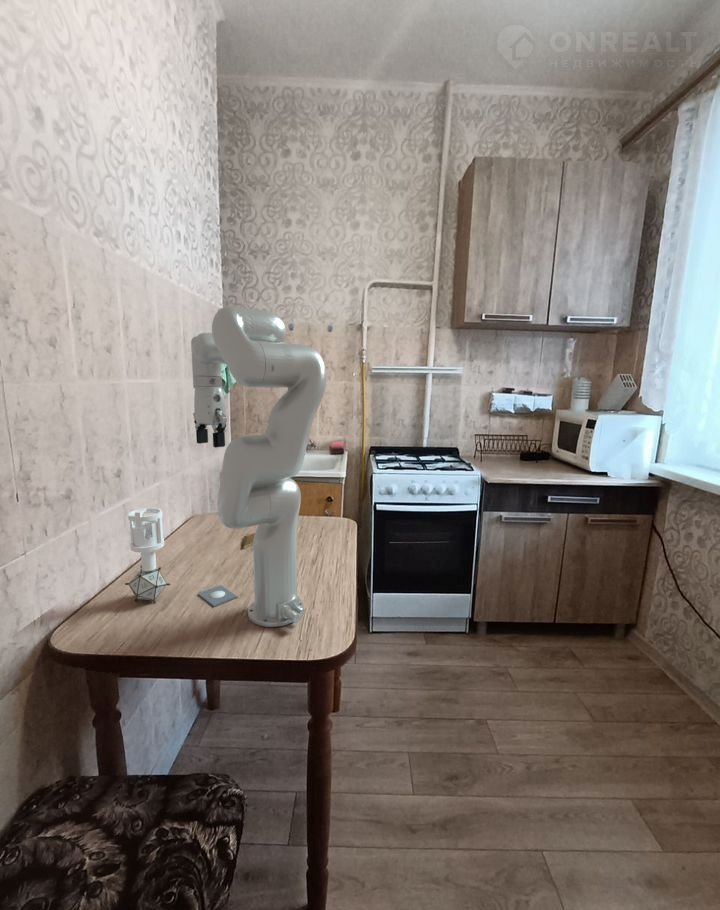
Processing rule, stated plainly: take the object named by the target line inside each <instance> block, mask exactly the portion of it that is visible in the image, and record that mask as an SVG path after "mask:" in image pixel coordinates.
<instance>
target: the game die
mask: <svg viewBox="0 0 720 910" xmlns="http://www.w3.org/2000/svg"><path fill="white" fill-rule="evenodd" d="M157 568H158V569H157ZM157 568H156V569H154V570H152V571H143V570H142V564H141V565H140V570H139V571H138V572H137V573H136V574H135V575H134V577H132V578H131V580H130V581H129V582H126V583H124V585H126V586H129V588H130V590H131V591H132V593H133V594H134V602H138V600H144V601H153V602H152V603H153V604H156V603H157V602H156V599H157V598H158V596H159V595H160V594H161V593H162V591H163V590H164V589H165V588H166V587H167V586H171V583H167V581H166V580H165V578H164V576H163V574H162V572H161V569H162V567H161V566H158V567H157Z"/></svg>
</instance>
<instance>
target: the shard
mask: <svg viewBox="0 0 720 910" xmlns="http://www.w3.org/2000/svg"><path fill="white" fill-rule="evenodd" d="M254 535H255V532H253V533H250V534H247V535H244V536H243V543H242V548H243V550H246V549H248V548H251V547H253V540H254Z"/></svg>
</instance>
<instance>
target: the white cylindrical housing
mask: <svg viewBox="0 0 720 910" xmlns="http://www.w3.org/2000/svg"><path fill="white" fill-rule="evenodd" d="M143 514H151V515H145V516H143ZM127 519H128V521H129V531H130V545H129V547H130V550H131V551H132V552H134V553H140V558H141V559H140V561H141V565H142V570H143V571H152V570H154V569H157V558H156V557H157V556H156V551H157V550H159V549H162V548H163V547H164V546H165V538H164V530H163V529H164V527H163V509H162V508H158V507H145V508H139V509H135V510H131V511H129V512H128V513H127Z"/></svg>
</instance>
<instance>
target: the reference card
mask: <svg viewBox="0 0 720 910" xmlns="http://www.w3.org/2000/svg"><path fill="white" fill-rule="evenodd" d="M197 595H198V596H199V597H200V598H202V599H203V600H204V601H205V602H207V603H208V604H209V605H211V606H212V607H214V608H216V607H217V606H218V607H219V606H220V605H222V604H225V603H228V602H230V601H232V600H235V599H237V598H238V595H236V594H235V593H233V592H231V591H230V590H229V589H227V588H226V587H224V586H223V585H222V584H220V585H217V586H215V587H212V588H209V589H206V590H204V591H201V592H198V593H197Z"/></svg>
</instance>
